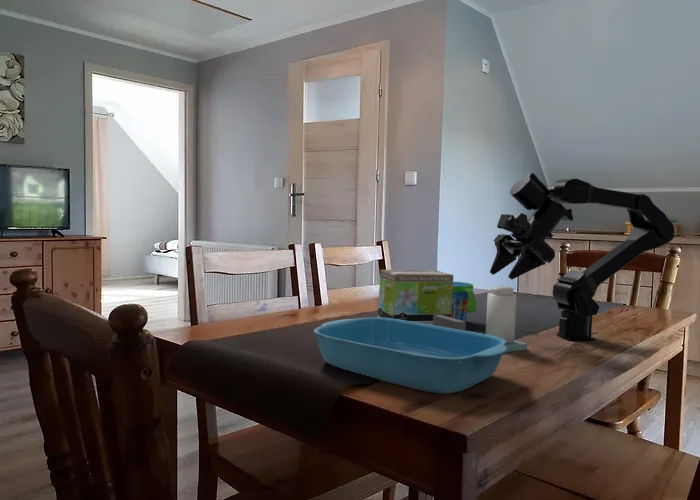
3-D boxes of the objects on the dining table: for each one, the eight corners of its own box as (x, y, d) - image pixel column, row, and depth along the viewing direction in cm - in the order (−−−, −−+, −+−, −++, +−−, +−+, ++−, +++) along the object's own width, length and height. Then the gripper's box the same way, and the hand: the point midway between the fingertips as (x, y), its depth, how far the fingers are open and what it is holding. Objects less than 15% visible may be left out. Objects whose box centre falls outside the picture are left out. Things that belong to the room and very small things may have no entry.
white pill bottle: (500, 336, 125) (502, 285, 125) (520, 341, 120) (522, 289, 119) (479, 338, 123) (482, 286, 122) (499, 344, 117) (501, 290, 117)
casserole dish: (290, 362, 105) (291, 325, 105) (364, 343, 122) (365, 311, 122) (466, 412, 81) (468, 364, 81) (528, 380, 98) (530, 340, 98)
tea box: (392, 338, 127) (394, 273, 126) (376, 329, 136) (378, 268, 135) (451, 335, 132) (454, 273, 131) (432, 327, 141) (434, 268, 140)
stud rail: (500, 341, 127) (501, 309, 126) (526, 349, 120) (528, 316, 119) (431, 349, 118) (433, 315, 117) (456, 358, 111) (457, 322, 110)
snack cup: (418, 317, 154) (419, 280, 153) (449, 315, 158) (451, 279, 158) (452, 328, 140) (454, 288, 139) (486, 325, 144) (488, 286, 144)
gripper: (499, 201, 137) (459, 250, 136) (539, 200, 118) (494, 256, 117) (530, 230, 139) (491, 279, 138) (574, 233, 121) (530, 290, 120)
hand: (500, 275), depth 128 cm, fingers open, 9 cm apart
